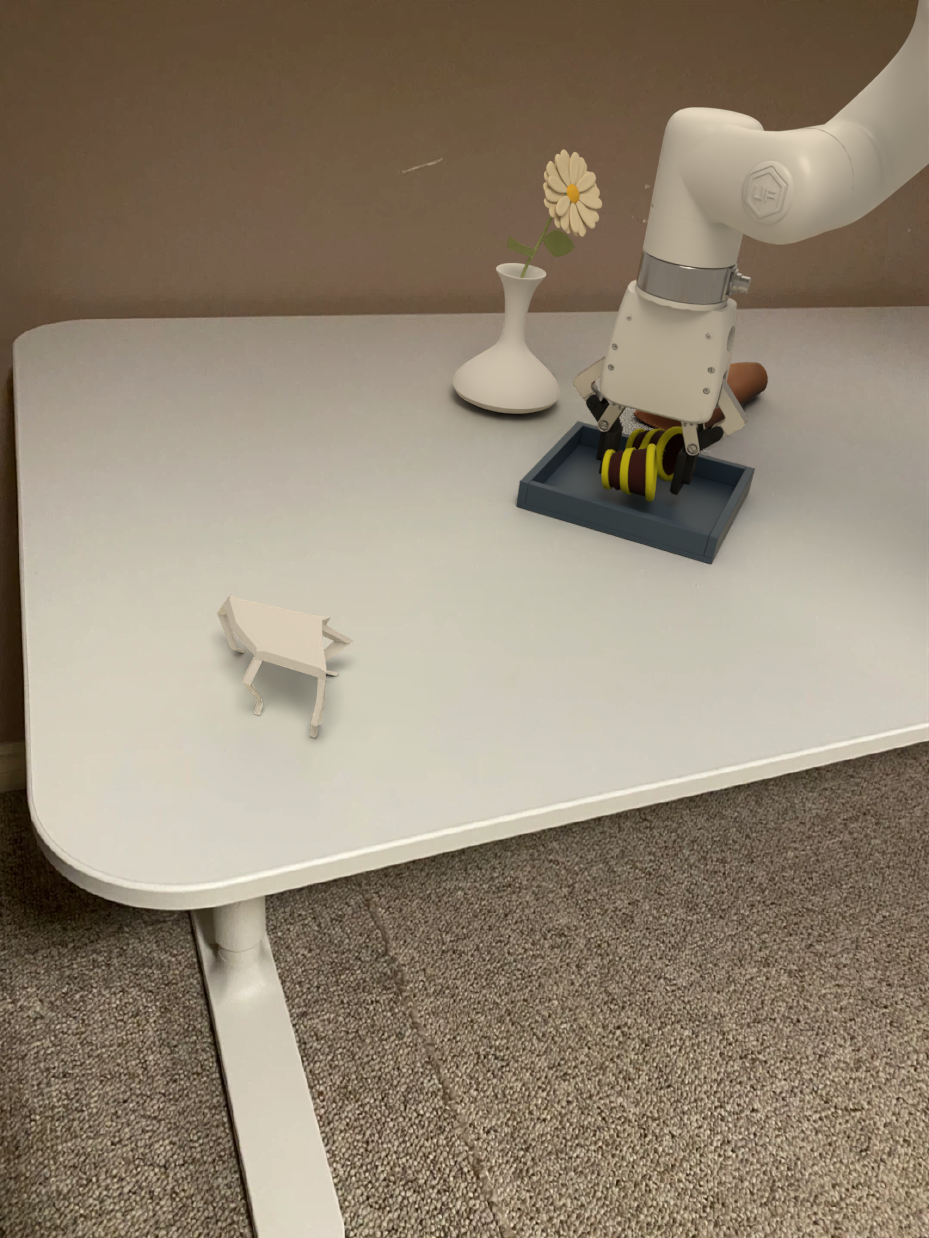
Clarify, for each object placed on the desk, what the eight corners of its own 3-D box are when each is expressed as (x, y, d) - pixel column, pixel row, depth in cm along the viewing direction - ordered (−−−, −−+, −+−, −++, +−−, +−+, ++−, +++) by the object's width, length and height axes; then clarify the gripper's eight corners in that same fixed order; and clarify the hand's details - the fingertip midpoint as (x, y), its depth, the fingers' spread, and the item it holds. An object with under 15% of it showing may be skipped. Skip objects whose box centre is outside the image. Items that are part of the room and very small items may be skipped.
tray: (748, 492, 102) (755, 468, 101) (711, 564, 90) (718, 538, 89) (573, 444, 107) (577, 420, 106) (515, 506, 95) (519, 481, 94)
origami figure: (388, 686, 72) (392, 625, 69) (311, 754, 66) (313, 690, 63) (246, 622, 76) (245, 563, 74) (162, 679, 70) (158, 617, 67)
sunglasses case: (696, 371, 126) (735, 331, 121) (737, 416, 126) (778, 377, 121) (628, 415, 113) (668, 372, 109) (673, 465, 113) (716, 424, 108)
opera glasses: (640, 466, 102) (640, 415, 100) (693, 473, 100) (694, 421, 97) (595, 502, 95) (594, 448, 93) (651, 511, 93) (652, 455, 90)
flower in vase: (478, 428, 108) (509, 163, 94) (433, 384, 116) (456, 134, 102) (590, 418, 113) (636, 165, 99) (540, 376, 121) (576, 137, 107)
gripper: (798, 290, 88) (744, 488, 98) (597, 247, 93) (565, 440, 103) (782, 314, 82) (726, 522, 92) (568, 266, 87) (538, 469, 97)
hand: (642, 477), depth 97 cm, fingers closed on opera glasses, 5 cm apart
